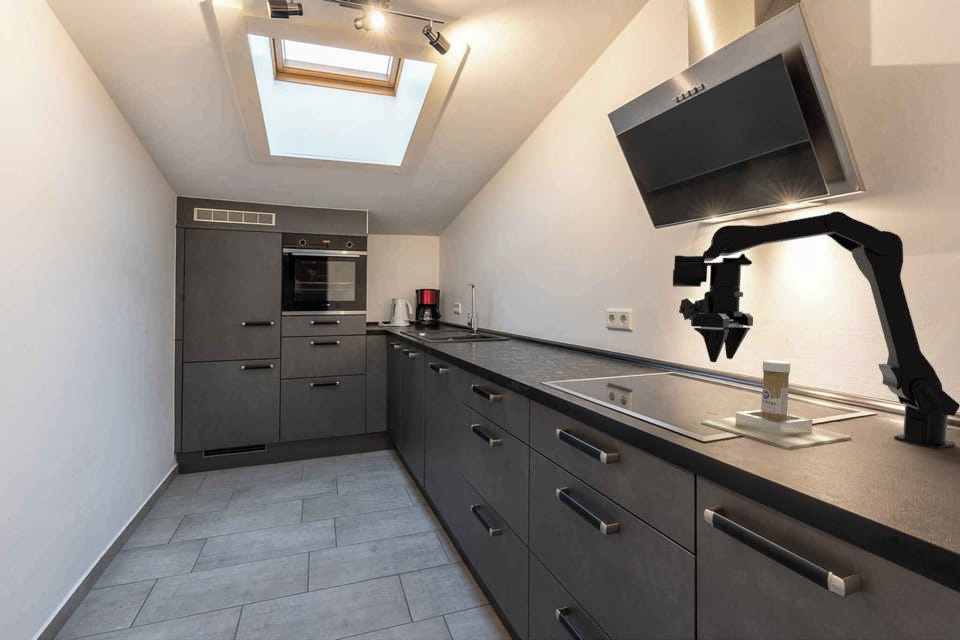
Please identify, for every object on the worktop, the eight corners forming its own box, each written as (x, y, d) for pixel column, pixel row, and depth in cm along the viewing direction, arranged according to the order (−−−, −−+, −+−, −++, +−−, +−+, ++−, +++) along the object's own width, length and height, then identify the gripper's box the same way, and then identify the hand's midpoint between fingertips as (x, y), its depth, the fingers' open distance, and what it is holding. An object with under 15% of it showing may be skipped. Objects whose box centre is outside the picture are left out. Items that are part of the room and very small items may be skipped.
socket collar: (766, 420, 97) (766, 409, 97) (811, 432, 89) (812, 419, 89) (735, 424, 94) (735, 412, 94) (779, 437, 85) (780, 423, 85)
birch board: (760, 416, 103) (760, 414, 103) (851, 439, 87) (851, 436, 87) (701, 423, 96) (701, 421, 96) (787, 449, 80) (788, 446, 80)
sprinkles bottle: (754, 426, 92) (757, 360, 92) (769, 424, 94) (772, 359, 94) (777, 432, 88) (781, 363, 88) (792, 430, 90) (795, 362, 90)
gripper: (703, 288, 110) (700, 353, 110) (667, 285, 97) (664, 359, 98) (755, 288, 102) (752, 358, 102) (723, 285, 89) (720, 365, 90)
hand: (721, 360), depth 98 cm, fingers open, 9 cm apart
